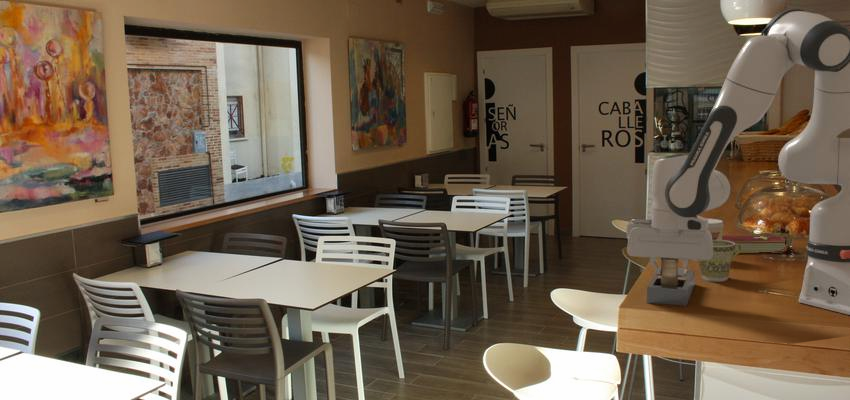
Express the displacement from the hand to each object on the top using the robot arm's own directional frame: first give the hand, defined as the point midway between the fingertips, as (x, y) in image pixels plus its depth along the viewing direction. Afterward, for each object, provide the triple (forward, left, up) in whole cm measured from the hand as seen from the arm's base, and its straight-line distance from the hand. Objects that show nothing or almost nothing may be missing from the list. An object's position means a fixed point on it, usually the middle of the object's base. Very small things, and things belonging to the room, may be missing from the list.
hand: (669, 275), depth 190 cm
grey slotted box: (+4, -4, -6) cm, 8 cm away
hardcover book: (+43, -57, -7) cm, 72 cm away
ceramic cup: (+13, -25, -6) cm, 28 cm away
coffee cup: (+34, -36, -6) cm, 50 cm away
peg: (0, 0, -4) cm, 4 cm away
